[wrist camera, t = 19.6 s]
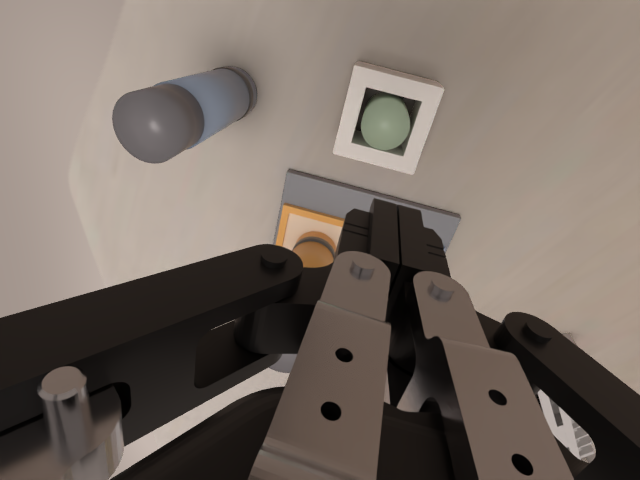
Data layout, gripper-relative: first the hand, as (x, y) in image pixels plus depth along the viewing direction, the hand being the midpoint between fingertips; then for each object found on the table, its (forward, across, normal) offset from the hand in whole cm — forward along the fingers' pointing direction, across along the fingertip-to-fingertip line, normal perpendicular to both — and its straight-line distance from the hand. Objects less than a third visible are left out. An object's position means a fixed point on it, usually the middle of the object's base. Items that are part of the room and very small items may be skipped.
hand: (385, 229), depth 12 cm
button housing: (+20, 0, 0) cm, 20 cm away
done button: (+20, 0, 0) cm, 20 cm away
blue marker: (+20, +12, +2) cm, 24 cm away
